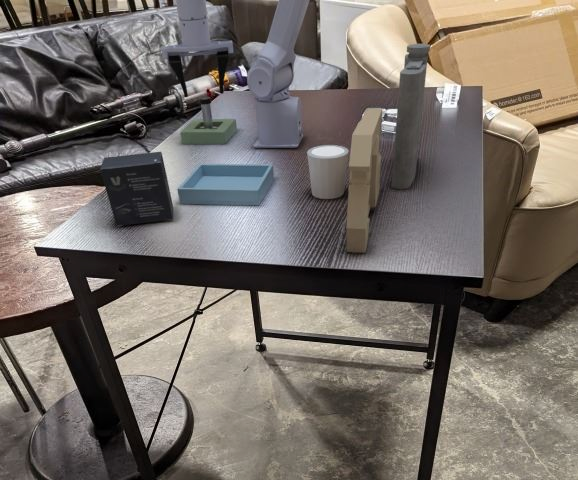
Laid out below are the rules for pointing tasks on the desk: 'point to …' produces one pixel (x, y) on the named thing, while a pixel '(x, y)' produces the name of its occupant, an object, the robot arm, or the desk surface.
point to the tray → (226, 184)
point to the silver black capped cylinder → (206, 113)
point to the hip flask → (409, 115)
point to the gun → (363, 178)
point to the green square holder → (209, 132)
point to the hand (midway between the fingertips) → (204, 94)
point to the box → (137, 188)
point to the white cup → (327, 170)
